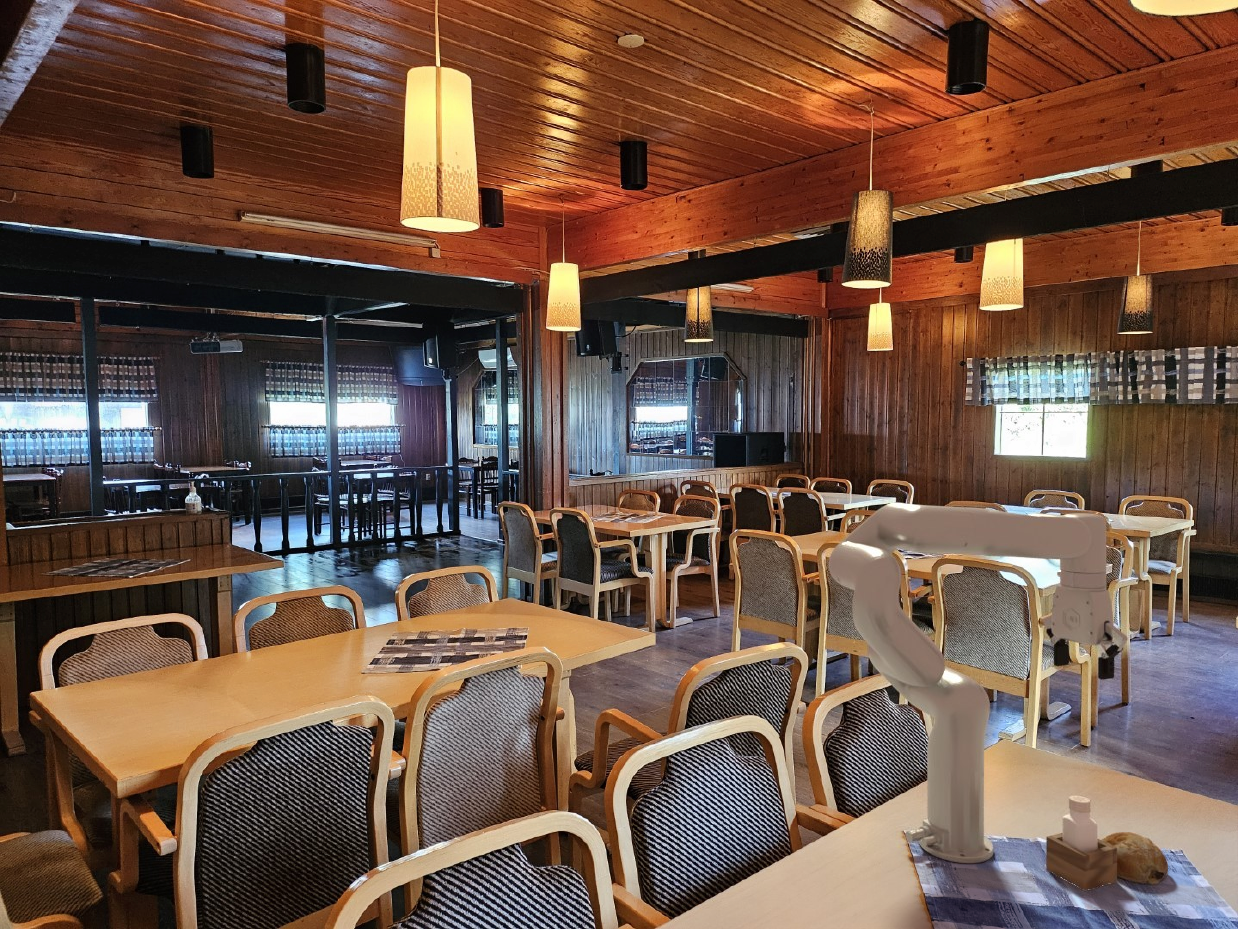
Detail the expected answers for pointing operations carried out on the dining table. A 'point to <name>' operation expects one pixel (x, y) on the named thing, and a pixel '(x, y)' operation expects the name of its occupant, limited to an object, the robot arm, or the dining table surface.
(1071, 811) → the pepper shaker
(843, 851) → the dining table surface
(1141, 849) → the bread roll
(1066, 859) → the wooden open box
